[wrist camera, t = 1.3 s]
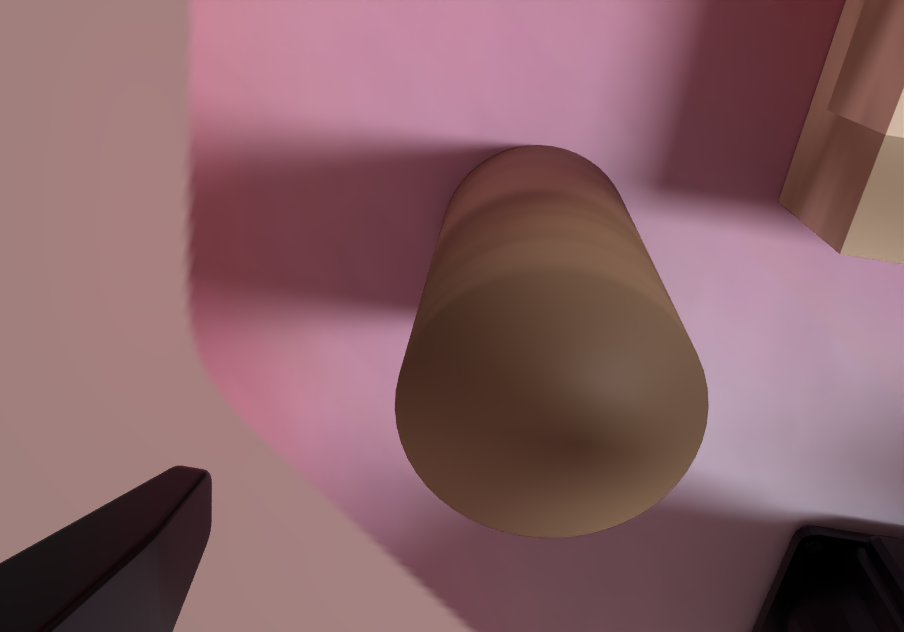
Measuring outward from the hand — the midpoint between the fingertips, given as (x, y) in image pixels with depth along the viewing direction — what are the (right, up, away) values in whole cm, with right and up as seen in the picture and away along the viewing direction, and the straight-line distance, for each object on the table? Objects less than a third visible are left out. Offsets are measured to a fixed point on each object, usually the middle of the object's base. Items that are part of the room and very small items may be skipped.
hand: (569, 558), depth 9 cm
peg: (+1, +5, +11) cm, 12 cm away
